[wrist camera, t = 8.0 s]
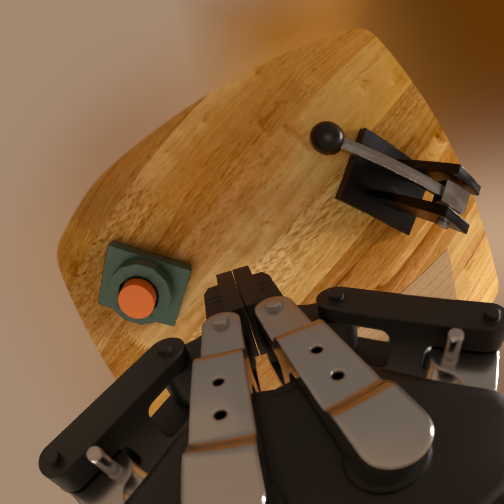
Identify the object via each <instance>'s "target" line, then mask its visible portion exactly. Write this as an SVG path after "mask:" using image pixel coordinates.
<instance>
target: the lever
mask: <svg viewBox="0 0 504 504" xmlns="http://www.w3.org/2000/svg"><path fill="white" fill-rule="evenodd" d="M310 142H311V145H312V147H313V148H314V149H315V150H316V151H317V152H318V153H320V154H323V155H334V154H336V153H338V152H339V151H340V150H341V151H343V152H346V153H348V154H350V155H353V156H355V157H358V158H360V159H362V160H365V161H367V162H369V163H371V164H374V165H376V166H378V167H380V168H382V169H384V170H387V171H389V172H391V173H393V174H395V175H397V176H399V177H401V178H403V179H405V180H407V181H409V182H411V183H413V184H415V185H417V186H419V187H420V188H422V189H424V190H426V191H428V192H430V193H432V194H433V195H434V197H433V200H432V202H434V203H438V204H442V205H445V206H449V207H450V208H451V209H452V210H453V211H455V212H456V213H457V214H464V212H465V209H466V206H467V202H468V199H469V195H470V192H468V191H467V190H465V189H463V188H462V187H460V186H459V185H457V184H455V183H454V182H452V181H450V180H449V179H446V180H442V181H439V182H437V181H435V180H434V179H432V178H430V177H428V176H426V175H425V174H423V173H421V172H419V171H417V170H415V169H413V168H411V167H409V166H407V165H405V164H403V163H401V162H399V161H397V160H395V159H393V158H391V157H389V156H387V155H385V154H382V153H380V152H378V151H376V150H374V149H371V148H369V147H367V146H364V145H362V144H360V143H357V142H355V141H352V140H350V139H347V138H345V135H344V132H343V130H342V129H341V128H340V127H339V126H338V125H337V124H335V123H333V122H330V121H323V122H319V123H317V124H316V125H315V126H314V127H313V128H312V130H311V132H310Z"/></svg>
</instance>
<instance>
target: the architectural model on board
mask: <svg viewBox="0 0 504 504" xmlns="http://www.w3.org/2000/svg"><path fill="white" fill-rule="evenodd" d="M401 294H406V295H415V296H425V297H434V298H443V299H453V300H456V293H455V286H454V279H453V273H452V267H451V262H450V257H449V252H448V249H447V250H446V251H445V252H444V253H443V254H442V255H441V256H440V257H439V258H438V259H437V260H436V261H435V262H434V263H433V264H432V265H431V266H430V267H429V268H428V269H427V270H426V271H425V272H424V273H423V274H422V275H421V276H420V277H419V278H417V279H416V280H415V281H414V282H413V283H412V284H411V285H410V286H409V287H408V288H407V289H405V290H404V291H403V292H402V293H401ZM357 334H358V336H359V337H364V338H369V339H374V340H380V341H385V342H389V336H388V335H387V334H386V333H385V332H383V331H381V330H376V329H370V328H364V327H360V328H358V329H357Z"/></svg>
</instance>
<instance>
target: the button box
mask: <svg viewBox="0 0 504 504" xmlns="http://www.w3.org/2000/svg"><path fill="white" fill-rule="evenodd" d="M190 273H191V265H190V264H186V263H183V262H180V261H176V260H173V259H170V258H166V257H163V256H160V255H157V254H153V253H150V252H147V251H144V250H140V249H137V248H134V247H131V246H128V245H125V244H121V243H118V242H115V241H112V242H111V243H110V244H109V245H108V248H107V253H106V258H105V264H104V269H103V275H102V281H101V288H100V295H99V302H98V303H99V304H101V305H104V306H107V307H110V308H113V309H114V310H115V311H116V312H117V313H118V314H119V315H120V316H121V317H122V318H124V319H125V320H127V321H130V322H134V323H137V324H141V325H142V324H148V323H153V322H159V323H163V324H167V325H170V326H175V323H176V319H177V316H178V312H179V309H180V306H181V302H182V299H183V296H184V292H185V289H186V286H187V283H188V279H189V276H190ZM133 278H141V279H145V280H147V281H148V282H149V283H151V284H152V286H153V287H154V289H155V291H156V301H155V305H154V309H153V311H152V313H151V314H150V315H149V316H147V317H145V318H141V319H136V318H132V317H130V316H128V315H126V314H125V313H124V312H123V311H122V310H121V308H120V306H119V302H118V296H119V293H120V291H121V289H122V287H123V286H124V284H125V283H126V282H127V281H128V280H130V279H133Z"/></svg>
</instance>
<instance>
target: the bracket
mask: <svg viewBox="0 0 504 504" xmlns="http://www.w3.org/2000/svg"><path fill="white" fill-rule="evenodd" d="M356 142H357V143H360V144H362V145H364V146H367V147H369V148H371V149H374V150H376V151H378V152H380V153H382V154H385V155H387V156H389V157H391V158H393V159H395V160H397V161H399V162H401V163H403V164H405V165H407V166H409V167H411V168H413V169H415V170H417V171H419V172H421V173H423V174H425V175H426V176H428V177H430V178H432V179H434V180H435V181H437V182H439V181H442V180H446V179H449V180H450V181H452V182H454V183H455V184H457V185H459V186H460V187H462V188H463V189H465V190H467V191H468V192H470V194H473V195H477V196H478V195H479V191H480V188H481V187H480V185H479V184H478V183H477V182H476V181H475V180H474V179H473V178H472V176H471V175H470V174H469V173H468V172H467V171H466V170H465V169H464V168H463V167H462V166H461V165H460V164H452V163H442V162H432V161H420V160H412V159H410V158H409V157H408V156H406V155H405V154H404V153H402V152H401V151H399V150H398V149H397V148H395V147H394V146H392V145H391V144H389V143H388V142H387V141H385V140H384V139H382V138H381V137H379V136H378V135H376V134H374V133H373V132H371V131H370V130H368V129H367V128H363V129H360V131H359V134H358V137H357V140H356ZM424 192H425V190H424V189H422V188H420V187H419V186H417V185H415V184H413V183H411V182H409V181H407V180H405V179H403V178H401V177H399V176H397V175H395V174H393V173H391V172H389V171H387V170H384V169H382V168H380V167H378V166H376V165H374V164H371V163H369V162H367V161H365V160H362V159H360V158H358V157H355V156H353V155H351V157H350V159H349V162H348V165H347V168H346V170H345V173H344V176H343V179H342V181H341V184H340V187H339V189H338V192H337V194H336V197H335V199H337V200H339V201H341V202H343V203H345V204H347V205H349V206H352V207H354V208H356V209H358V210H360V211H362V212H364V213H366V214H368V215H370V216H372V217H374V218H376V219H378V220H380V221H382V222H384V223H385V224H387V225H389V226H391V227H393V228H395V229H397V230H399V231H401V232H402V233H405V234H407V235H409V234H410V232H411V229H412V226H413V224H414V221H415V218H416V217H419V218H422V219H425V220H428V221H431V222H434V223H435V224H436V225H438V226H439V227H441V228H444V229H448V228H451V229H454V230H457V231H459V232H462V233H465V234H467V231H468V229H469V226H470V225H469V224H468V223H467V222H466V221H465V220H464V219H463V218H462V217H460V216H459V215H458V214H457V213H456V212H455V211H453V210H452V209H451V208H450V207H449V206H445V205H442V204H438V203H434V202H430V201H426V200H422V198H423V195H424Z"/></svg>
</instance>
